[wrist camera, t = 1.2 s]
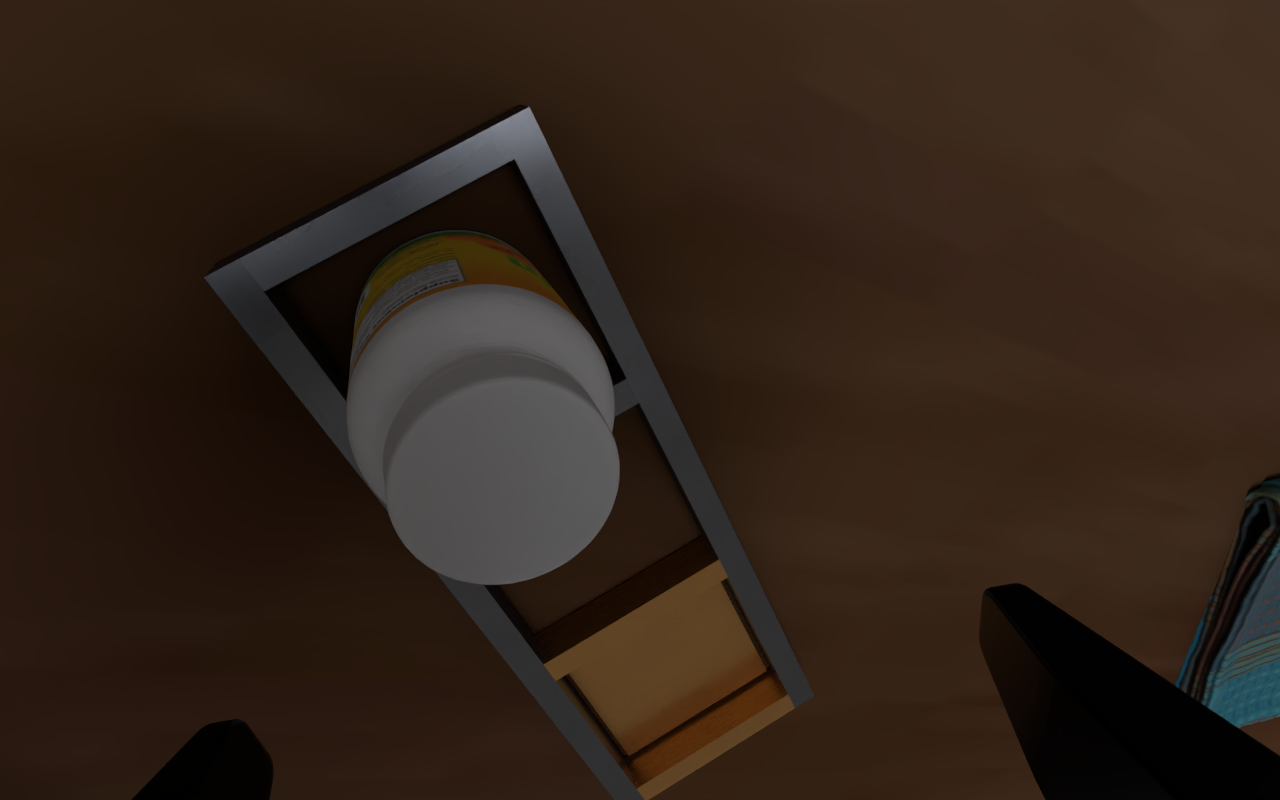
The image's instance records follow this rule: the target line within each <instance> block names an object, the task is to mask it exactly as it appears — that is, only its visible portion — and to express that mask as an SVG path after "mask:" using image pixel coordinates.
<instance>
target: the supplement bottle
mask: <svg viewBox="0 0 1280 800" xmlns="http://www.w3.org/2000/svg"><path fill="white" fill-rule="evenodd" d="M614 414H615V401H614V390H613V384H612V380H611V377H610V373H609V370H608V367H607V364H606V362H605V360H604V358H603V356H602V354H601V352H600V350H599V348H598V347H597V345H596V343H595V342H594V340H593V338H592V337H591V335H590V334H589V333H588V331H587V330H586V329H585V328H584V327H583V325H582V324H581V323H580V322H579V320H578V319H577V318H576V317H575V315H574V314H573V313H572V312H571V311H570V309H569V308H568V307H567V305H566V304H565V303H564V301H563V300H562V299H561V298H560V296H559V295H558V294H557V293H556V292H555V290H554V289H553V288H552V287H551V286H550V284H549V283H548V282H547V281H546V280H545V279H544V277H543V276H542V275H541V274H540V272H539V271H538V270H537V269H536V268H535V267H534V265H533V264H532V263H531V262H530V261H529V260H528V259H527V258H526V257H525V256H523V255H522V254H521V253H520V252H519V251H517V250H516V249H515V248H513V247H512V246H510V245H508V244H507V243H505V242H503V241H501V240H499V239H497V238H494V237H492V236H489V235H486V234H483V233H479V232H474V231H468V230H445V231H438V232H433V233H429V234H425V235H422V236H419V237H417V238H415V239H412V240H410V241H408V242H406V243H404V244H402V245H400V246H399V247H398V248H396V249H395V250H393V251H392V252H391V253H389V254H388V255H387V256H386V257H385V258H384V259H383V260H382V261H381V262H380V263H379V264H378V265H377V267H376V268H375V269H374V271H373V272H372V274H371V275H370V277H369V278H368V280H367V282H366V284H365V286H364V288H363V291H362V293H361V296H360V299H359V302H358V306H357V311H356V315H355V323H354V335H353V344H352V353H351V360H350V374H349V384H348V392H347V411H346V416H347V428H348V437H349V442H350V446H351V450H352V453H353V456H354V458H355V461H356V463H357V465H358V467H359V469H360V471H361V473H362V475H363V477H364V478H365V480H366V481H367V483H368V484H369V485H370V487H371V488H372V490H373V491H374V492H375V493H376V494H377V496H378V497H379V498H380V499H381V500H382V501H383V502H384V503H386V504H387V509H388V513H389V516H390V519H391V522H392V524H393V527H394V529H395V531H396V532H397V534H398V536H399V538H400V539H401V541H402V542H403V544H404V545H405V546H406V547H407V549H408V550H409V551H410V552H411V553H412V554H413V555H414V556H415V557H416V558H417V559H418V560H420V561H421V562H422V563H424V564H425V565H426V566H427V567H429V568H431V569H432V570H434V571H436V572H438V573H440V574H442V575H445V576H447V577H450V578H453V579H455V580H459V581H463V582H468V583H474V584H483V585H500V584H511V583H516V582H520V581H524V580H529V579H532V578H535V577H538V576H540V575H543V574H545V573H547V572H550V571H552V570H554V569H555V568H557V567H559V566H561V565H563V564H565V563H566V562H568V561H569V560H570V559H572V558H573V557H574V556H576V555H577V554H578V553H579V552H580V551H582V550H583V549H584V548H585V547H586V546H587V545H588V544H589V543H590V542H591V541H592V540H593V539H594V537H595V536H596V535H597V534H598V532H599V531H600V529H601V528H602V526H603V525H604V523H605V521H606V520H607V518H608V516H609V514H610V512H611V510H612V507H613V504H614V502H615V498H616V495H617V491H618V485H619V472H620V464H619V456H618V450H617V446H616V443H615V439H614V437H613V435H612V430H613V425H614Z"/></svg>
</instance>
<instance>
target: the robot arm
mask: <svg viewBox="0 0 1280 800" xmlns="http://www.w3.org/2000/svg"><path fill="white" fill-rule="evenodd" d="M979 640H980V646H981V649H982V653H983V655H984V658H985V660H986V663H987V665H988V668H989V670H990V673H991V675H992V677H993V680H994V682H995V685H996V687H997V689H998V692H999V694H1000V697H1001V699H1002V701H1003V704H1004V706H1005V709H1006V711H1007V713H1008V716H1009V718H1010V721H1011V723H1012V726H1013V728H1014V730H1015V733H1016V735H1017V738H1018V740H1019V742H1020V745H1021V747H1022V750H1023V752H1024V754H1025V757H1026V759H1027V762H1028V764H1029V766H1030V768H1031V771H1032V773H1033V775H1034V778H1035V780H1036V782H1037V784H1038V786H1039V788H1040V790H1041V792H1042V794H1043V796H1044V798H1045V800H1280V756H1279V755H1278V754H1276V753H1275V752H1273V751H1272V750H1270V749H1269V748H1267V747H1266V746H1264V745H1263V744H1262V743H1260V742H1259V741H1257V740H1256V739H1254V738H1253V737H1251V736H1250V735H1248V734H1247V733H1245V732H1244V731H1242V730H1241V729H1239V728H1238V727H1236V726H1235V725H1233V724H1232V723H1230V722H1229V721H1227V720H1226V719H1224V718H1223V717H1221V716H1220V715H1218V714H1217V713H1215V712H1214V711H1212V710H1211V709H1209V708H1208V707H1206V706H1205V705H1203V704H1202V703H1200V702H1199V701H1197V700H1196V699H1194V698H1193V697H1191V696H1190V695H1188V694H1187V693H1185V692H1184V691H1182V690H1181V689H1179V688H1178V687H1176V686H1175V685H1173V684H1172V683H1170V682H1169V681H1167V680H1166V679H1164V678H1163V677H1161V676H1160V675H1158V674H1157V673H1155V672H1154V671H1152V670H1151V669H1149V668H1148V667H1147V666H1145V665H1144V664H1142V663H1141V662H1139V661H1138V660H1136V659H1135V658H1133V657H1132V656H1130V655H1129V654H1127V653H1126V652H1124V651H1123V650H1121V649H1120V648H1118V647H1117V646H1115V645H1114V644H1112V643H1111V642H1109V641H1108V640H1106V639H1105V638H1103V637H1102V636H1100V635H1099V634H1097V633H1096V632H1094V631H1093V630H1091V629H1090V628H1088V627H1087V626H1085V625H1084V624H1082V623H1081V622H1079V621H1078V620H1076V619H1075V618H1073V617H1072V616H1070V615H1069V614H1067V613H1066V612H1064V611H1063V610H1061V609H1060V608H1058V607H1057V606H1055V605H1054V604H1052V603H1051V602H1049V601H1048V600H1046V599H1045V598H1043V597H1042V596H1040V595H1039V594H1037V593H1036V592H1034V591H1033V590H1032V589H1030V588H1028V587H1027V586H1025V585H1022V584H1019V583H1013V584H1007V585H1001V586H996V587H990V588H988V589H986V590H985V592H984V593H983V597H982V607H981V618H980V629H979ZM272 782H273V762H272V759H271V756H270V755H269V753H268V752H267V750H266V749H265V748H264V746H263V745H262V744H261V742H260V741H259V740H258V738H257V737H256V736H255V734H254V733H253V731H252V730H251V729H250V727H249V726H248V725H247V724H246V723H245V722H244V721H242V720H239V719H233V720H227V721H222V722H216V723H211V724H208V725H206V726H204V727H203V728H201V729H200V730H199V731H198V732H197V733H196V734H195V735H194V736H193V737H192V738H191V739H190V740H189V741H188V742H187V743H186V744H185V745H184V746H183V747H182V748H181V749H180V750H179V751H178V752H177V753H176V754H175V756H174V757H173V758H172V759H171V760H170V761H169V762H168V763H167V764H166V765H165V766H164V767H163V768H162V769H161V770H160V771H159V772H158V773H157V774H156V775H155V776H154V777H153V778H152V779H151V780H150V781H149V782H148V783H147V784H146V785H145V786H144V787H143V788H142V789H141V790H140V791H139V793H138V794H137V795H136V796H135V797H134V798H133V799H132V800H270V794H271V788H272Z"/></svg>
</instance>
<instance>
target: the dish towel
mask: <svg viewBox="0 0 1280 800" xmlns="http://www.w3.org/2000/svg"><path fill="white" fill-rule="evenodd" d="M1245 501H1248V503H1247V505H1246V510H1245V512H1244V514H1243V517H1242V519H1241V522H1240V524H1239V527H1238V529H1237V532H1236V535H1235V537H1234V540H1233V542H1232V545H1231V548H1230V550H1229V552H1228V555H1227V558H1226V561H1225V563H1224V566H1223V568H1222V571H1221V573H1220V576H1219V579H1218V582H1217V584H1216V587H1215V590H1214V592H1213V594H1212V595H1211V597H1210V600H1209V606H1208V607H1207V608H1206V610H1205V612H1204V615H1203V617H1202V619H1201V620H1200V623H1199V626H1198V629H1197V632H1196V635H1195V637H1194V640H1193V643H1192V645H1191V647H1190V649H1189V651H1188V654H1187V656H1186V659H1185V661H1184V664H1183V666H1182V669H1181V672H1180V674H1179V677H1178V679H1177V681H1176V683H1175V686H1176V687H1178V688H1179V689H1181V690H1182V691H1184V692H1185V693H1187V694H1188V695H1190V696H1191V697H1193V698H1194V699H1196V700H1197V701H1199V702H1200V703H1202V704H1203V705H1205V706H1206V707H1208V708H1209V709H1211V710H1212V711H1214V712H1215V713H1217V714H1218V715H1220V716H1221V717H1223V718H1224V719H1226V720H1227V721H1229V722H1230V723H1232V724H1233V725H1235V726H1236V727H1238V728H1240V727H1242V726H1244V725H1250V724H1253V723H1256V722H1263V721H1267V720H1269V719H1273V718H1276V717H1280V478H1277V479H1272V480H1267V481H1264V482H1263V483H1262V484H1261V487H1260V488H1259V489H1256V490H1254V491H1251V492H1249V493H1248V494H1247V495H1246V497H1245Z"/></svg>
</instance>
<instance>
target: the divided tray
mask: <svg viewBox="0 0 1280 800" xmlns="http://www.w3.org/2000/svg"><path fill="white" fill-rule="evenodd" d="M508 162H510V163H511V165H512V167H513V169H514V171H515V173H516V175H517V177H518V179H519V181H520V183H521V184H522V186H523V188H524V190H525V192H526V194H527V196H528V198H529V200H530V202H531V204H532V206H533V208H534V210H535V212H536V214H537V216H538V217H539V219H540V221H541V223H542V225H543V227H544V229H545V231H546V233H547V235H548V237H549V239H550V241H551V243H552V245H553V247H554V249H555V250H556V252H557V254H558V256H559V258H560V260H561V262H562V264H563V266H564V268H565V270H566V272H567V274H568V276H569V278H570V280H571V282H572V283H573V285H574V287H575V289H576V291H577V293H578V295H579V297H580V299H581V301H582V303H583V305H584V307H585V309H586V311H587V313H588V315H589V316H590V318H591V320H592V322H593V324H594V326H595V328H596V330H597V332H598V334H599V336H600V338H601V340H602V342H603V344H604V346H605V348H606V349H607V351H608V353H609V355H610V357H611V359H612V361H613V362H611V363H609V364H607V367H608V370H609V373H610V377H611V380H612V384H613V390H614V401H615V414H614V417H615V416H617V415H619V414H621V413H622V412H624V411H626V410H628V409H629V408H631V407H633V406H636V408H637V410H638V412H639V414H640V415H641V417H642V419H643V421H644V423H645V425H646V427H647V429H648V431H649V433H650V435H651V437H652V439H653V441H654V443H655V445H656V447H657V448H658V450H659V452H660V454H661V456H662V458H663V460H664V462H665V464H666V466H667V468H668V470H669V472H670V474H671V476H672V478H673V480H674V481H675V483H676V485H677V487H678V489H679V491H680V493H681V495H682V497H683V499H684V501H685V503H686V505H687V507H688V509H689V511H690V513H691V514H692V516H693V518H694V520H695V522H696V524H697V526H698V528H699V530H700V532H701V534H702V536H701V537H699V538H698V539H696V540H694V541H693V542H691V543H689V544H688V545H686V546H684V547H683V548H681V549H679V550H678V551H676V552H674V553H672V554H671V555H669V556H667V557H666V558H664V559H662V560H661V561H659V562H657V563H656V564H654V565H652V566H651V567H649V568H647V569H646V570H644V571H642V572H641V573H639V574H637V575H635V576H634V577H632V578H630V579H629V580H627V581H625V582H624V583H622V584H620V585H619V586H617V587H615V588H614V589H612V590H610V591H609V592H607V593H605V594H603V595H602V596H600V597H598V598H597V599H595V600H593V601H592V602H590V603H588V604H587V605H585V606H583V607H582V608H580V609H578V610H577V611H575V612H573V613H572V614H570V615H568V616H566V617H565V618H563V619H561V620H560V621H558V622H556V623H555V624H553V625H551V626H550V627H548V628H546V629H545V630H543V631H541V632H540V633H538V634H536V635H535V634H534V633H533V631H532V630H531V629H530V627H529V626H528V625H527V623H526V622H525V621H524V619H523V618H522V616H521V615H520V614H519V612H518V611H517V610H516V608H515V607H514V606H513V604H512V603H511V602H510V600H509V599H508V597H507V596H506V595H505V593H504V592H503V591H502V589H501V588H500V587H499V585H483V584H474V583H468V582H463V581H459V580H455V579H453V578H450V577H447V576H445V575H442V574H440V573H438V572H436V571H435V572H436V573H437V575H438V576H439V577H440V578H441V580H442V581H443V582H444V584H445V585H446V586H447V587H448V589H449V590H450V591H451V592H452V594H453V595H454V596H455V598H456V599H457V600H458V601H459V603H460V604H461V605H462V606H463V608H464V609H465V610H466V612H467V613H468V614H469V615H470V617H471V618H472V619H473V620H474V622H475V623H476V624H477V626H478V627H479V628H480V629H481V631H482V632H483V633H484V634H485V636H486V637H487V638H488V640H489V641H490V642H491V643H492V645H493V646H494V647H495V648H496V650H497V651H498V652H499V654H500V655H501V656H502V657H503V659H504V660H505V661H506V662H507V664H508V665H509V666H510V667H511V669H512V670H513V671H514V673H515V674H516V675H517V676H518V678H519V679H520V680H521V681H522V683H523V684H524V685H525V687H526V688H527V689H528V690H529V692H530V693H531V694H532V695H533V697H534V698H535V699H536V701H537V702H538V703H539V704H540V706H541V707H542V708H543V709H544V711H545V712H546V713H547V715H548V716H549V717H550V718H551V720H552V721H553V722H554V723H555V725H556V726H557V727H558V729H559V730H560V731H561V732H562V734H563V735H564V736H565V737H566V739H567V740H568V741H569V743H570V744H571V745H572V746H573V748H574V749H575V750H576V751H577V753H578V754H579V755H580V756H581V758H582V759H583V760H584V762H585V763H586V764H587V765H588V767H589V768H590V769H591V770H592V772H593V773H594V774H595V776H596V777H597V778H598V779H599V781H600V782H601V783H602V784H603V786H604V787H605V788H606V790H607V791H608V792H609V793H610V795H611V796H612V797H613V798H614V800H649V799H650V798H652V797H654V796H655V795H657V794H658V793H660V792H662V791H663V790H665V789H666V788H668V787H670V786H671V785H673V784H674V783H676V782H678V781H679V780H681V779H682V778H684V777H686V776H687V775H689V774H690V773H692V772H694V771H695V770H697V769H698V768H700V767H702V766H703V765H705V764H706V763H708V762H710V761H711V760H713V759H714V758H716V757H718V756H719V755H721V754H722V753H724V752H726V751H727V750H729V749H730V748H732V747H734V746H735V745H737V744H738V743H740V742H742V741H743V740H745V739H746V738H748V737H750V736H751V735H753V734H754V733H756V732H758V731H759V730H761V729H762V728H764V727H766V726H767V725H769V724H770V723H772V722H773V721H775V720H777V719H778V718H780V717H781V716H783V715H785V714H786V713H788V712H789V711H791V710H793V709H794V708H796V707H797V706H799V705H801V704H802V703H804V702H805V701H807V700H809V699H810V698H812V697H813V696H814V694H813V692H812V690H811V688H810V686H809V684H808V682H807V680H806V678H805V676H804V674H803V672H802V669H801V667H800V665H799V663H798V661H797V659H796V657H795V655H794V653H793V651H792V649H791V647H790V645H789V643H788V641H787V638H786V636H785V634H784V632H783V630H782V628H781V626H780V624H779V622H778V620H777V618H776V616H775V614H774V612H773V609H772V607H771V605H770V603H769V601H768V599H767V597H766V595H765V593H764V591H763V589H762V587H761V585H760V583H759V581H758V578H757V576H756V574H755V572H754V570H753V568H752V566H751V564H750V562H749V560H748V558H747V556H746V554H745V552H744V550H743V547H742V545H741V543H740V541H739V539H738V537H737V535H736V533H735V531H734V529H733V527H732V525H731V523H730V521H729V518H728V516H727V514H726V512H725V510H724V508H723V506H722V504H721V502H720V500H719V498H718V496H717V494H716V492H715V490H714V487H713V485H712V483H711V481H710V479H709V477H708V475H707V473H706V471H705V469H704V467H703V465H702V463H701V461H700V459H699V456H698V454H697V452H696V450H695V448H694V446H693V444H692V442H691V440H690V438H689V436H688V434H687V432H686V430H685V427H684V425H683V423H682V421H681V419H680V417H679V415H678V413H677V411H676V409H675V407H674V405H673V403H672V401H671V399H670V396H669V394H668V392H667V390H666V388H665V386H664V384H663V382H662V380H661V378H660V376H659V374H658V372H657V370H656V368H655V365H654V363H653V361H652V359H651V357H650V355H649V353H648V351H647V349H646V347H645V345H644V343H643V341H642V339H641V336H640V334H639V332H638V330H637V328H636V326H635V324H634V322H633V320H632V318H631V316H630V314H629V312H628V310H627V308H626V305H625V303H624V301H623V299H622V297H621V295H620V293H619V291H618V289H617V287H616V285H615V283H614V281H613V279H612V277H611V274H610V272H609V270H608V268H607V266H606V264H605V262H604V260H603V258H602V256H601V254H600V252H599V250H598V248H597V245H596V243H595V241H594V239H593V237H592V235H591V233H590V231H589V229H588V227H587V225H586V223H585V221H584V219H583V217H582V214H581V212H580V210H579V208H578V206H577V204H576V202H575V200H574V198H573V196H572V194H571V192H570V190H569V188H568V186H567V183H566V181H565V179H564V177H563V175H562V173H561V171H560V169H559V167H558V165H557V163H556V161H555V159H554V157H553V155H552V152H551V150H550V148H549V146H548V144H547V142H546V140H545V138H544V136H543V134H542V132H541V130H540V128H539V126H538V123H537V121H536V119H535V117H534V115H533V113H532V111H531V109H530V107H528V106H523V105H518V106H516V107H514V108H512V109H510V110H508V111H506V112H504V113H503V114H501V115H499V116H497V117H495V118H493V119H491V120H489V121H487V122H485V123H483V124H481V125H480V126H478V127H476V128H474V129H472V130H470V131H468V132H466V133H464V134H462V135H460V136H458V137H457V138H455V139H453V140H451V141H449V142H447V143H445V144H443V145H441V146H439V147H437V148H436V149H434V150H432V151H430V152H428V153H426V154H424V155H422V156H420V157H418V158H416V159H414V160H413V161H411V162H409V163H407V164H405V165H403V166H401V167H399V168H397V169H395V170H393V171H391V172H390V173H388V174H386V175H384V176H382V177H380V178H378V179H376V180H374V181H372V182H370V183H369V184H367V185H365V186H363V187H361V188H359V189H357V190H355V191H353V192H351V193H349V194H347V195H346V196H344V197H342V198H340V199H338V200H336V201H334V202H332V203H330V204H328V205H326V206H324V207H323V208H321V209H319V210H317V211H315V212H313V213H311V214H309V215H307V216H305V217H303V218H302V219H300V220H298V221H296V222H294V223H292V224H290V225H288V226H286V227H284V228H282V229H280V230H279V231H277V232H275V233H273V234H271V235H269V236H267V237H265V238H263V239H261V240H259V241H257V242H256V243H254V244H252V245H250V246H248V247H246V248H244V249H242V250H240V251H238V252H236V253H234V254H233V255H231V256H229V257H227V258H225V259H223V260H221V261H219V262H217V263H216V264H215V265H214V266H213V267H212V268H211V269H210V271H209V272H208V273H207V274H206V275H205V276H204V278H205V280H206V281H207V282H208V284H209V285H210V286H211V287H212V289H213V290H214V291H215V292H216V294H217V295H218V296H219V297H220V299H221V300H222V301H223V303H224V304H225V305H226V306H227V308H228V309H229V310H230V311H231V313H232V314H233V315H234V317H235V318H236V319H237V320H238V322H239V323H240V324H241V325H242V327H243V328H244V329H245V331H246V332H247V333H248V334H249V336H250V337H251V338H252V339H253V341H254V342H255V343H256V345H257V346H258V347H259V348H260V350H261V351H262V352H263V353H264V355H265V356H266V357H267V359H268V360H269V361H270V362H271V364H272V365H273V366H274V367H275V369H276V370H277V371H278V373H279V374H280V375H281V376H282V378H283V379H284V380H285V381H286V383H287V384H288V385H289V386H290V388H291V389H292V390H293V392H294V393H295V394H296V395H297V397H298V398H299V399H300V400H301V402H302V403H303V404H304V406H305V407H306V408H307V409H308V411H309V412H310V413H311V414H312V416H313V417H314V418H315V420H316V421H317V422H318V423H319V425H320V426H321V427H322V428H323V430H324V431H325V432H326V434H327V435H328V436H329V437H330V439H331V440H332V441H333V442H334V444H335V445H336V446H337V448H338V449H339V450H340V451H341V453H342V454H343V455H344V456H345V458H346V459H347V460H348V462H349V463H350V464H351V465H352V467H353V468H354V469H355V470H356V472H357V473H358V474H359V476H360V477H361V478H362V479H363V481H364V482H365V483H366V484H367V486H368V487H369V488H370V489H371V491H372V492H373V493H374V495H375V496H376V497H377V498H378V500H379V501H380V502H381V503H382V505H383V506H384V507H385V509H386V510H387V511H388V509H387V504H386V503H384V502H383V501H382V500H381V499H380V498H379V497H378V496H377V494H376V493H375V492H374V491H373V490H372V488H371V487H370V485H369V484H368V483H367V481H366V480H365V478H364V477H363V475H362V473H361V471H360V469H359V467H358V465H357V463H356V461H355V458H354V456H353V453H352V450H351V446H350V442H349V437H348V428H347V416H346V411H347V392H348V384H349V381H348V380H347V379H346V377H345V376H344V375H343V373H342V372H341V371H340V369H339V368H338V366H337V365H336V364H335V362H334V361H333V360H332V358H331V357H330V356H329V354H328V353H327V351H326V350H325V349H324V347H323V346H322V345H321V343H320V342H319V341H318V339H317V338H316V337H315V335H314V334H313V332H312V331H311V330H310V328H309V327H308V326H307V324H306V323H305V322H304V320H303V319H302V318H301V316H300V315H299V313H298V312H297V311H296V309H295V308H294V307H293V305H292V304H291V303H290V301H289V300H288V298H287V297H286V296H285V294H284V293H283V292H282V290H281V289H280V288H279V286H278V285H277V284H279V283H281V282H283V281H285V280H287V279H289V278H291V277H293V276H294V275H296V274H298V273H300V272H302V271H304V270H306V269H308V268H310V267H311V266H313V265H315V264H317V263H319V262H321V261H323V260H325V259H327V258H328V257H330V256H332V255H334V254H336V253H338V252H340V251H342V250H344V249H345V248H347V247H349V246H351V245H353V244H355V243H357V242H359V241H361V240H362V239H364V238H366V237H368V236H370V235H372V234H374V233H376V232H378V231H379V230H381V229H383V228H385V227H387V226H389V225H391V224H393V223H395V222H396V221H398V220H400V219H402V218H404V217H406V216H408V215H410V214H412V213H413V212H415V211H417V210H419V209H421V208H423V207H425V206H427V205H429V204H430V203H432V202H434V201H436V200H438V199H440V198H442V197H444V196H446V195H447V194H449V193H451V192H453V191H455V190H457V189H459V188H461V187H463V186H464V185H466V184H468V183H470V182H472V181H474V180H476V179H478V178H480V177H481V176H483V175H485V174H487V173H489V172H491V171H493V170H495V169H497V168H498V167H500V166H502V165H504V164H506V163H508ZM724 579H725V580H726V582H727V584H728V586H729V588H730V590H731V592H732V594H733V596H734V598H735V600H736V602H737V604H738V606H739V608H740V610H741V612H742V613H743V615H744V617H745V619H746V621H747V623H748V625H749V627H750V629H751V631H752V633H753V635H754V637H755V639H756V641H757V643H758V645H759V646H760V648H761V650H762V652H763V654H764V656H765V658H766V660H767V662H768V664H769V666H770V668H769V669H768V670H766V668H765V666H764V664H763V662H762V660H761V658H760V656H759V655H758V653H757V651H756V649H755V647H754V645H753V643H752V641H751V639H750V637H749V635H748V633H747V632H746V630H745V628H744V626H743V624H742V622H741V620H740V618H739V616H738V614H737V612H736V610H735V608H734V607H733V605H732V603H731V601H730V599H729V597H728V595H727V593H726V591H725V589H724V587H723V585H722V583H721V581H723V580H724ZM568 673H569V674H570V676H571V677H572V679H573V680H574V681H575V683H576V684H577V685H578V687H579V688H580V690H581V691H582V692H583V694H584V695H585V696H586V698H587V699H588V700H589V702H590V703H591V705H592V706H593V707H594V709H595V710H596V711H597V713H598V714H599V716H600V717H601V718H602V720H603V721H604V722H605V724H606V725H607V727H608V728H609V729H610V731H611V732H612V733H613V735H614V736H615V737H616V739H617V740H618V742H619V743H620V744H621V746H622V747H623V748H624V750H625V751H626V753H627V754H628V756H627V757H625V756H624V755H623V754H622V752H621V751H620V750H619V748H618V747H617V746H616V744H615V743H614V742H613V740H612V739H611V737H610V736H609V735H608V733H607V732H606V731H605V729H604V728H603V727H602V725H601V724H600V722H599V721H598V720H597V718H596V717H595V716H594V714H593V713H592V712H591V710H590V709H589V708H588V706H587V705H586V703H585V702H584V701H583V699H582V698H581V697H580V695H579V694H578V693H577V691H576V690H575V689H574V687H573V686H572V684H571V683H570V682H569V680H568V679H567V678H566V676H565V675H567V674H568Z"/></svg>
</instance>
